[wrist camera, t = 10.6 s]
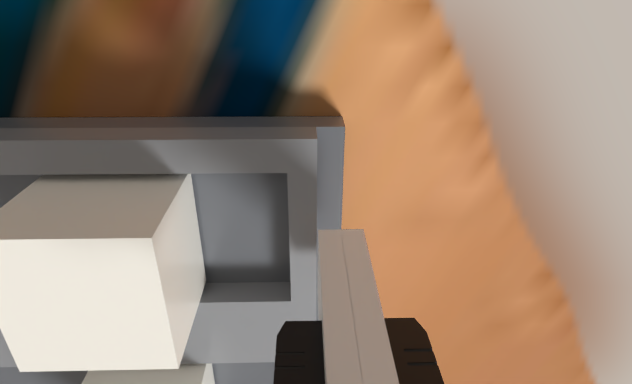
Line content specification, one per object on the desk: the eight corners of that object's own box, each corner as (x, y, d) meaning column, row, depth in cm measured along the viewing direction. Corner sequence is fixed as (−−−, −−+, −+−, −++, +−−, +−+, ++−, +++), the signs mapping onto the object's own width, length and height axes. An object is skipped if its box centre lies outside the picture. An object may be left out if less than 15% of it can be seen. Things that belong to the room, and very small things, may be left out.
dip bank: (-72, 420, 23) (-113, 470, 21) (-268, 118, 15) (-367, 145, 13) (332, 412, 24) (335, 459, 22) (342, 116, 16) (348, 140, 14)
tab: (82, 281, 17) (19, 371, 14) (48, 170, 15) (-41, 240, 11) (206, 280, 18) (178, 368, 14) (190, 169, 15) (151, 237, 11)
